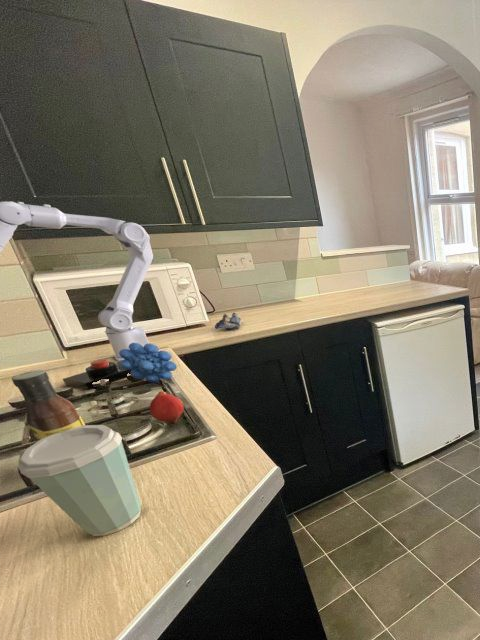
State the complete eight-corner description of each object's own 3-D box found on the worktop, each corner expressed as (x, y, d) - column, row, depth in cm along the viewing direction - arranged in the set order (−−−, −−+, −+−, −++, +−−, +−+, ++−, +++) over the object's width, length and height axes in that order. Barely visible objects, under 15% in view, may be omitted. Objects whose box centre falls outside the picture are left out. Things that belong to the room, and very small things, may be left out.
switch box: (122, 368, 130) (117, 356, 129) (144, 371, 127) (139, 359, 125) (66, 386, 119) (59, 373, 117) (89, 390, 115) (82, 377, 113)
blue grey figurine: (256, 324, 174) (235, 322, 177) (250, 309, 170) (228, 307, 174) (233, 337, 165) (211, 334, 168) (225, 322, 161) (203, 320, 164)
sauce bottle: (72, 465, 80) (18, 369, 72) (112, 457, 82) (63, 363, 74) (52, 484, 75) (-9, 383, 67) (95, 476, 77) (41, 376, 69)
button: (104, 364, 123) (102, 358, 123) (112, 365, 122) (109, 359, 121) (90, 368, 120) (87, 363, 120) (97, 370, 119) (94, 364, 118)
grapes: (125, 392, 112) (106, 350, 107) (132, 384, 118) (114, 343, 113) (178, 383, 117) (161, 342, 112) (182, 375, 123) (167, 335, 118)
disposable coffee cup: (163, 519, 65) (122, 436, 59) (68, 562, 58) (10, 472, 52) (149, 492, 72) (111, 414, 66) (62, 527, 64) (10, 444, 58)
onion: (152, 430, 92) (137, 398, 89) (164, 419, 97) (150, 387, 94) (182, 426, 93) (168, 394, 90) (192, 414, 98) (180, 383, 95)
